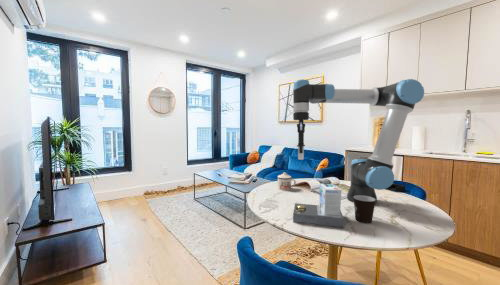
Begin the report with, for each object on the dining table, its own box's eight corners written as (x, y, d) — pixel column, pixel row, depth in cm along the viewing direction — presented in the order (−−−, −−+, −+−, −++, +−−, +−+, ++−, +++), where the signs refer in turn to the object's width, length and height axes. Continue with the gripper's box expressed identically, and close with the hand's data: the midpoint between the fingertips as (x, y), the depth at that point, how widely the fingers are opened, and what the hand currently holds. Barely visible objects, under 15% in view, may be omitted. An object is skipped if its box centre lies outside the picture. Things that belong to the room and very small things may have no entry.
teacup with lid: (279, 192, 143) (279, 174, 142) (275, 188, 152) (276, 171, 151) (297, 192, 144) (298, 173, 143) (293, 188, 153) (293, 171, 152)
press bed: (339, 215, 105) (339, 206, 104) (343, 228, 91) (343, 217, 91) (295, 211, 110) (295, 202, 109) (293, 222, 96) (293, 212, 96)
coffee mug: (374, 226, 93) (374, 202, 92) (351, 222, 97) (352, 199, 97) (375, 217, 103) (376, 195, 102) (354, 213, 107) (355, 192, 107)
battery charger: (376, 188, 155) (377, 183, 155) (385, 187, 159) (386, 181, 159) (396, 193, 143) (396, 187, 143) (405, 192, 147) (405, 185, 147)
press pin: (305, 213, 103) (305, 205, 103) (304, 216, 100) (305, 207, 100) (297, 213, 104) (297, 204, 104) (296, 215, 101) (296, 207, 100)
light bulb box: (318, 206, 104) (319, 183, 104) (333, 206, 104) (334, 183, 103) (324, 214, 94) (325, 189, 93) (341, 215, 93) (341, 189, 93)
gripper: (293, 113, 120) (293, 157, 121) (293, 111, 107) (293, 161, 108) (308, 112, 118) (308, 157, 119) (309, 110, 105) (309, 161, 107)
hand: (300, 159), depth 114 cm, fingers closed
